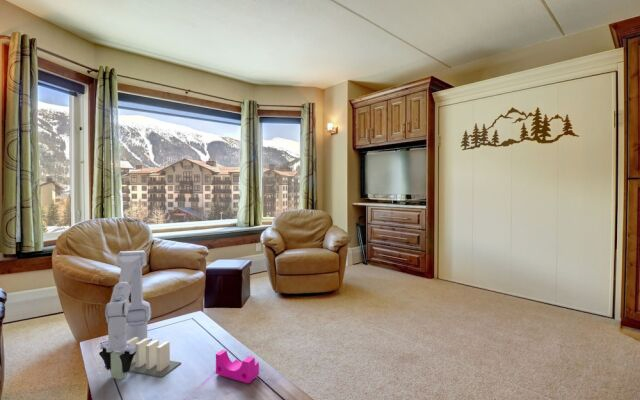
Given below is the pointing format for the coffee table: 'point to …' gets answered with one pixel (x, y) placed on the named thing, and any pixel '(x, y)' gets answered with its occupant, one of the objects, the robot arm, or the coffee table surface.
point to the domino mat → (154, 369)
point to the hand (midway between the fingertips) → (118, 370)
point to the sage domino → (117, 366)
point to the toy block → (236, 367)
